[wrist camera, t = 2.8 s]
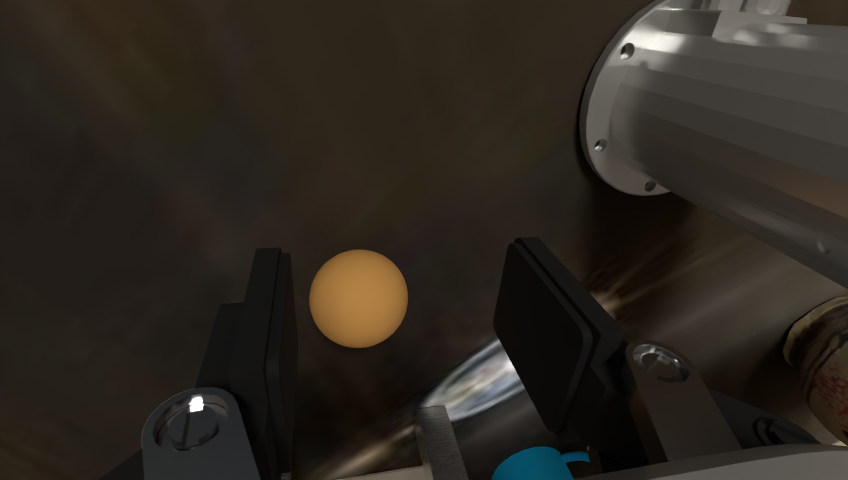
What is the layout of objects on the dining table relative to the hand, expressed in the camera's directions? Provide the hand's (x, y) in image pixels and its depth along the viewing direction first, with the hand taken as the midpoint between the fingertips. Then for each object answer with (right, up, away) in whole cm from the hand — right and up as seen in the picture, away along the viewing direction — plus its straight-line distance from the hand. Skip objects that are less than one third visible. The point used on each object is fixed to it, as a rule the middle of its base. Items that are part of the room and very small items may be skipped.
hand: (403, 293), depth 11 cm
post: (+1, -14, +27) cm, 31 cm away
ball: (-3, -2, +15) cm, 16 cm away
